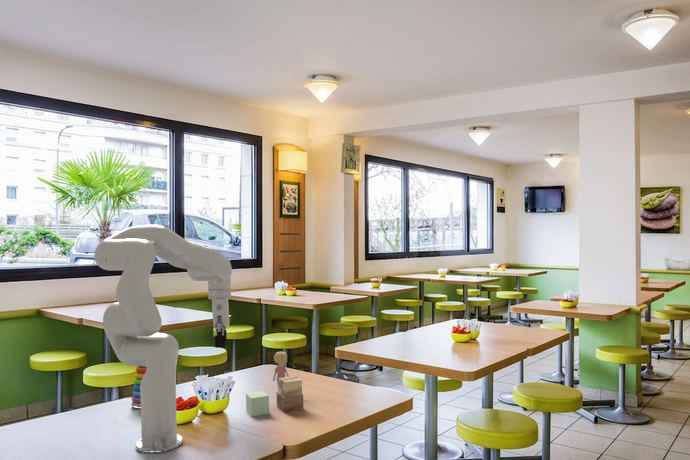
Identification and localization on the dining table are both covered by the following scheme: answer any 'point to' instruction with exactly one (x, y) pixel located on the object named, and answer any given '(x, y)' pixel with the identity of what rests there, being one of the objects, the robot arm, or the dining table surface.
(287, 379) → the tower top
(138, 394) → the stacking toy
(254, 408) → the green cube
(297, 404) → the tower base
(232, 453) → the dining table surface
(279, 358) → the toy
